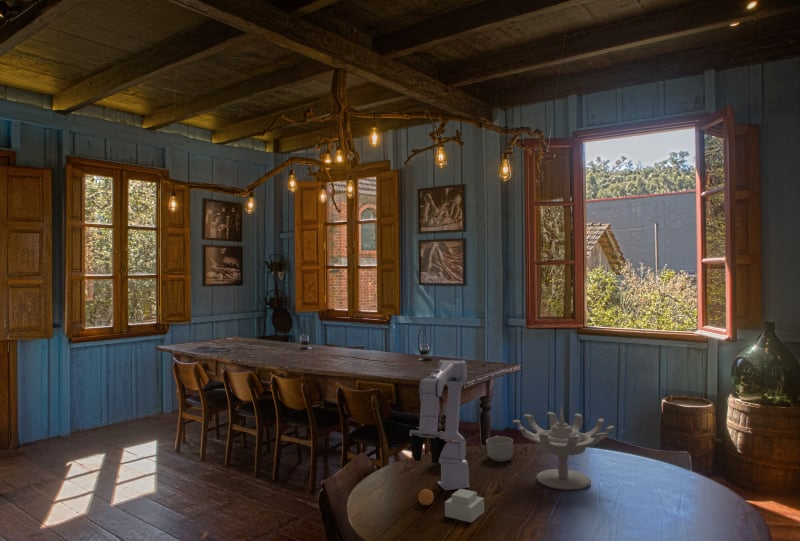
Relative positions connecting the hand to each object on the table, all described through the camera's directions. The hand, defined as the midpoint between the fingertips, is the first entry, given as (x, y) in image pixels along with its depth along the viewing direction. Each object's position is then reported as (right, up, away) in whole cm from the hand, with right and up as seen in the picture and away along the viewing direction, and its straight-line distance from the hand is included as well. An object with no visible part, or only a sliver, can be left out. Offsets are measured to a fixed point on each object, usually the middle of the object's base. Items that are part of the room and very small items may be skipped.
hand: (425, 462), depth 170 cm
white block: (+12, -16, +1) cm, 20 cm away
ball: (0, -14, +9) cm, 17 cm away
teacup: (+33, -18, +54) cm, 66 cm away
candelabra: (+51, -17, +26) cm, 59 cm away
